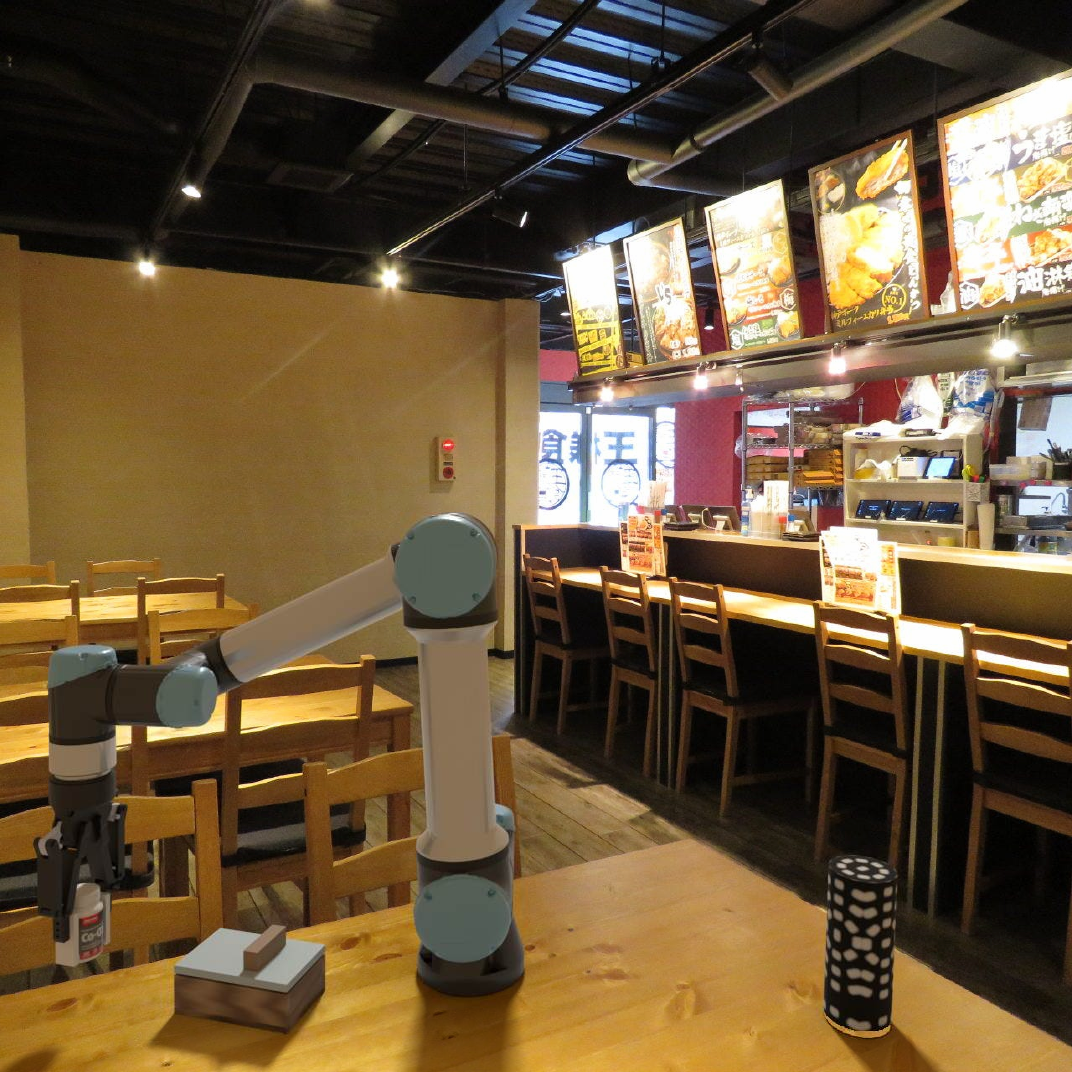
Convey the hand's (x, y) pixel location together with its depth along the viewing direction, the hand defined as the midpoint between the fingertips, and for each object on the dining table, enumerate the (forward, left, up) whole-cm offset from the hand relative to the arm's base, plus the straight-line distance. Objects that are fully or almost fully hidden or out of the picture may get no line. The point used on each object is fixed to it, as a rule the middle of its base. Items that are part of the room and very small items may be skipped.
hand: (83, 952), depth 112 cm
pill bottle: (0, 0, -1) cm, 1 cm away
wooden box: (-18, -9, -9) cm, 22 cm away
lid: (-18, -9, -3) cm, 21 cm away
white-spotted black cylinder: (-95, -27, -9) cm, 99 cm away
